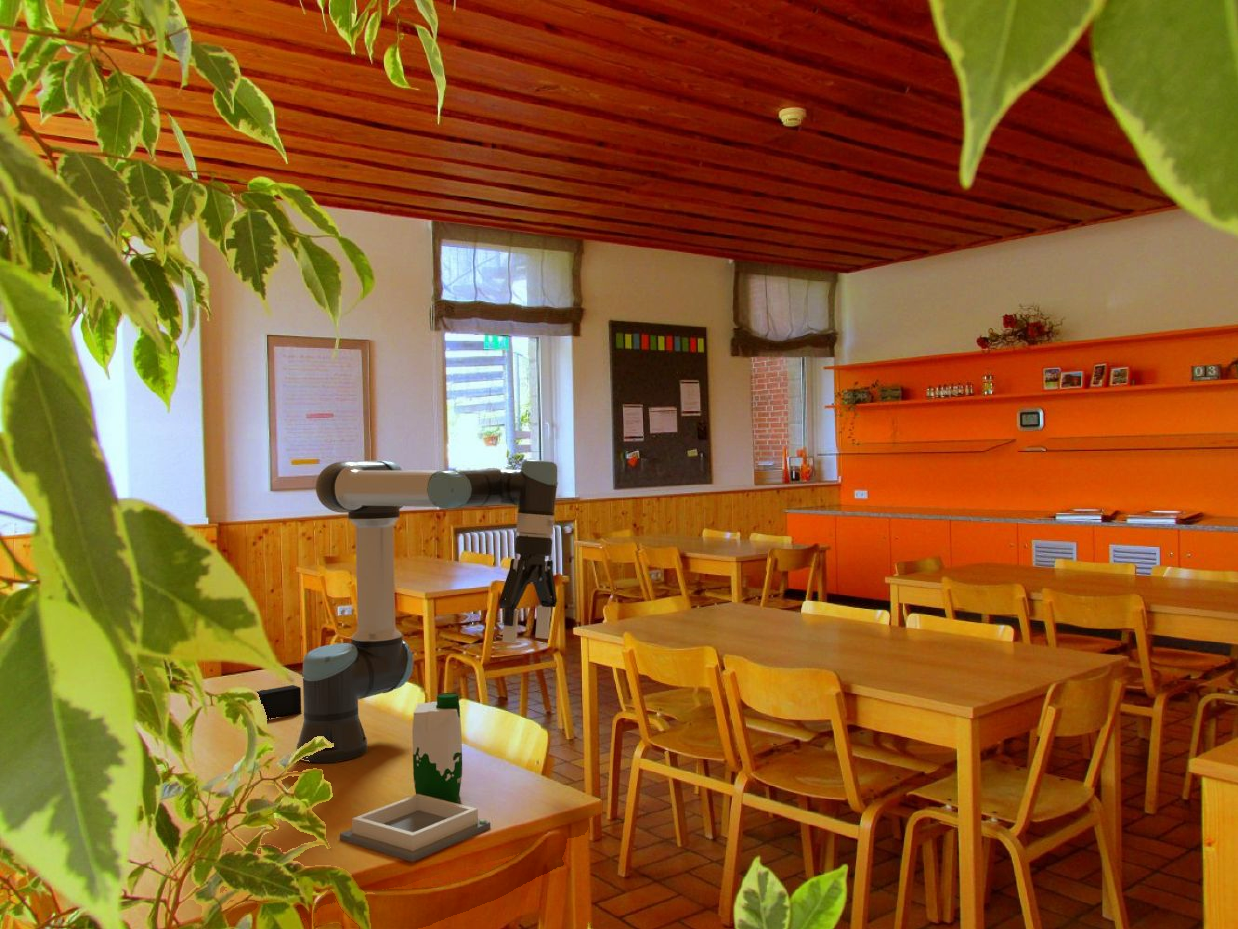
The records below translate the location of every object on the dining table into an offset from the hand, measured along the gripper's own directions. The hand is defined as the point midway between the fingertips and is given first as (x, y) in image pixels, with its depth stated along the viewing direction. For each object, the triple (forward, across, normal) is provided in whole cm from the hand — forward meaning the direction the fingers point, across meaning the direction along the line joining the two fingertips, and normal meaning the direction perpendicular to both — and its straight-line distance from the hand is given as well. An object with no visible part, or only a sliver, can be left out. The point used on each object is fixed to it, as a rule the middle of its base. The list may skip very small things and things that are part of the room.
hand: (525, 640), depth 208 cm
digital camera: (+31, +25, +84) cm, 93 cm away
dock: (+31, -33, 0) cm, 45 cm away
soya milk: (+30, -17, +6) cm, 35 cm away
